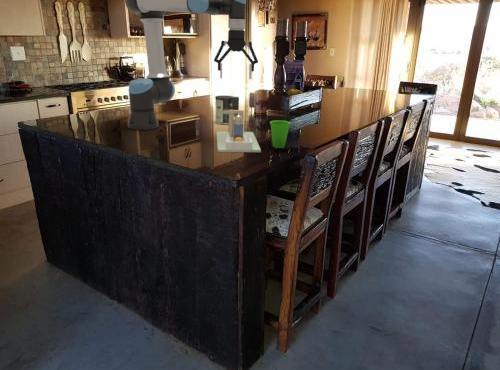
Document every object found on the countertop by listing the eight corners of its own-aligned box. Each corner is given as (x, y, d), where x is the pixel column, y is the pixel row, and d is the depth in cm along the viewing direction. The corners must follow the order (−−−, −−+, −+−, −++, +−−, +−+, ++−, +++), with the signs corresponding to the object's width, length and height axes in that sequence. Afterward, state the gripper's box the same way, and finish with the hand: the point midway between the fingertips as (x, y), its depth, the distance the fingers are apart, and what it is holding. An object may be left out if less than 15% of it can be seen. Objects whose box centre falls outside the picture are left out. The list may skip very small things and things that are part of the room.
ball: (233, 137, 171) (233, 146, 171) (234, 136, 167) (234, 145, 167) (242, 137, 171) (242, 146, 171) (243, 136, 167) (243, 145, 167)
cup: (267, 144, 178) (268, 120, 174) (287, 144, 179) (288, 120, 175) (269, 149, 169) (271, 124, 165) (290, 150, 170) (292, 125, 166)
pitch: (217, 152, 164) (218, 120, 159) (216, 133, 193) (216, 106, 189) (260, 152, 166) (262, 121, 161) (252, 133, 195) (253, 107, 191)
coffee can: (235, 121, 222) (236, 96, 217) (231, 125, 212) (231, 98, 207) (218, 119, 224) (218, 94, 219) (212, 123, 214) (212, 97, 209)
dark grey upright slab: (233, 142, 171) (234, 105, 165) (230, 129, 194) (231, 96, 188) (242, 142, 171) (243, 105, 165) (238, 129, 194) (239, 96, 189)
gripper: (208, 28, 171) (208, 78, 179) (265, 30, 174) (263, 80, 182) (208, 28, 178) (208, 76, 186) (263, 30, 181) (261, 78, 189)
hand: (235, 78), depth 184 cm, fingers open, 13 cm apart
